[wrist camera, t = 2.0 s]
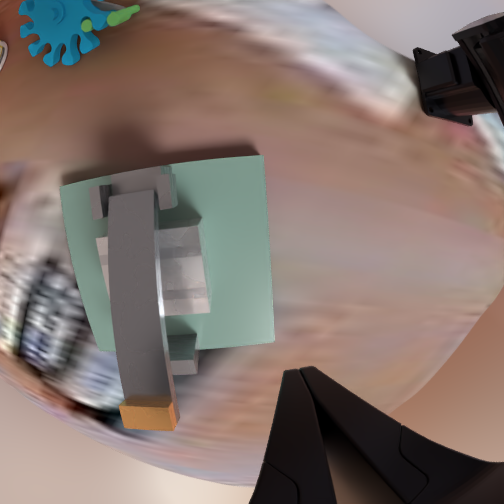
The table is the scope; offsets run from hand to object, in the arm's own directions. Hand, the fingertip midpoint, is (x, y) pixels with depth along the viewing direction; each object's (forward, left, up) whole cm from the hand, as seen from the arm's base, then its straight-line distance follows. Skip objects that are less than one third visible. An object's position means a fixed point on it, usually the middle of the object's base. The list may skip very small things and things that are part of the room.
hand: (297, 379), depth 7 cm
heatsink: (+6, -1, -11) cm, 13 cm away
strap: (+6, 0, -6) cm, 8 cm away
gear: (+12, -20, -13) cm, 26 cm away
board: (+6, 0, -12) cm, 14 cm away
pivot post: (+6, -5, -12) cm, 15 cm away
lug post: (+6, +6, -12) cm, 15 cm away
